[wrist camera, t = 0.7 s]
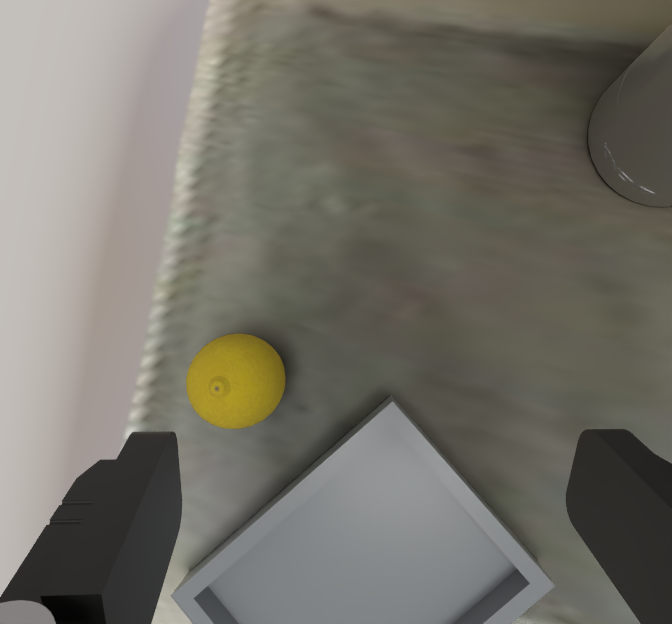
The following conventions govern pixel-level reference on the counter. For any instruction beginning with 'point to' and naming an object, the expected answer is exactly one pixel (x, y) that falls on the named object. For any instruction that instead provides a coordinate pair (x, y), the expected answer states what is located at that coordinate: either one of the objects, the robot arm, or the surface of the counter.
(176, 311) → the counter surface
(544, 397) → the counter surface
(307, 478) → the tray
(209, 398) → the lemon
